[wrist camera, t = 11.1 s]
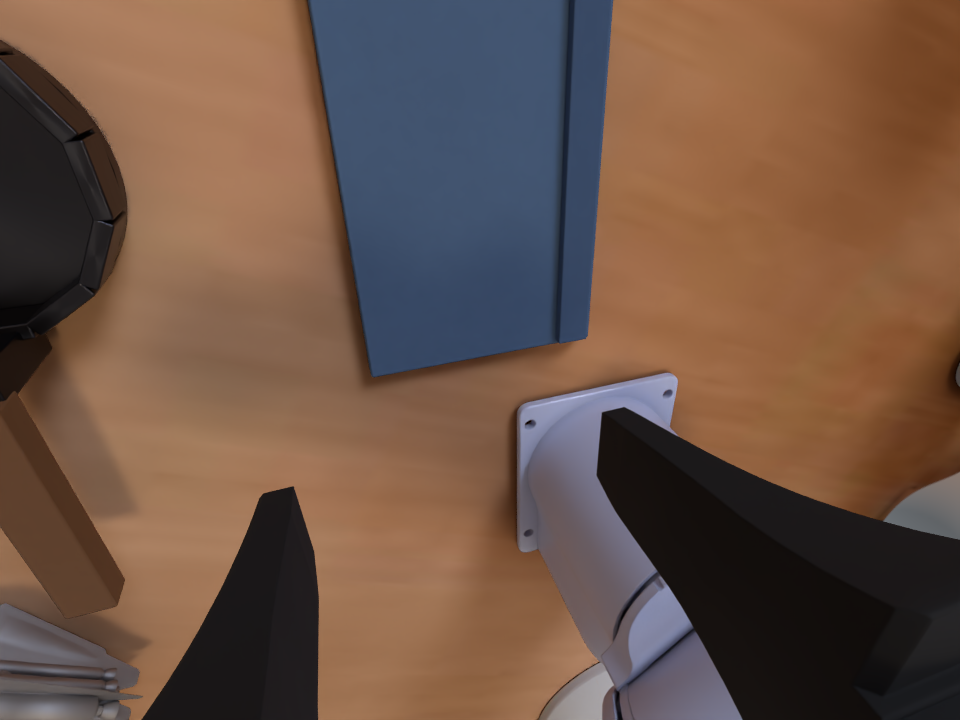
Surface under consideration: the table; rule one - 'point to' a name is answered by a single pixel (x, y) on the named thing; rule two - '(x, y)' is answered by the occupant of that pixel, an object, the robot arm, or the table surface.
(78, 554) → the pan
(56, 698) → the spaceship
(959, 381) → the energy drink can
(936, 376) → the table surface
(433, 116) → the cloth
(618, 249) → the table surface
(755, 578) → the robot arm
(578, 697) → the candlestick
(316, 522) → the table surface
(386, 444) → the table surface
